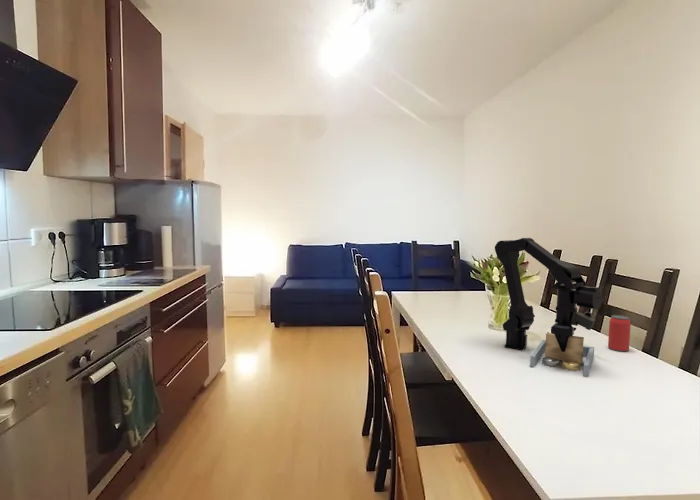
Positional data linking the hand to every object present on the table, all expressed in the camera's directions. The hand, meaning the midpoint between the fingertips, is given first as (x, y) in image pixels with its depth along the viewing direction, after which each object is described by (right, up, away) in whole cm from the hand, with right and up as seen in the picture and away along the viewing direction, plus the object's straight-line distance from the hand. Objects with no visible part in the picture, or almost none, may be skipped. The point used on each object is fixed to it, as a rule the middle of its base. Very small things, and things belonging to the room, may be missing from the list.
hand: (563, 350), depth 151 cm
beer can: (+26, -3, +14) cm, 30 cm away
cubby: (-1, -4, -1) cm, 4 cm away
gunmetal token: (-6, -4, -3) cm, 8 cm away
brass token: (-1, -4, -6) cm, 8 cm away
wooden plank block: (0, -3, 0) cm, 3 cm away
